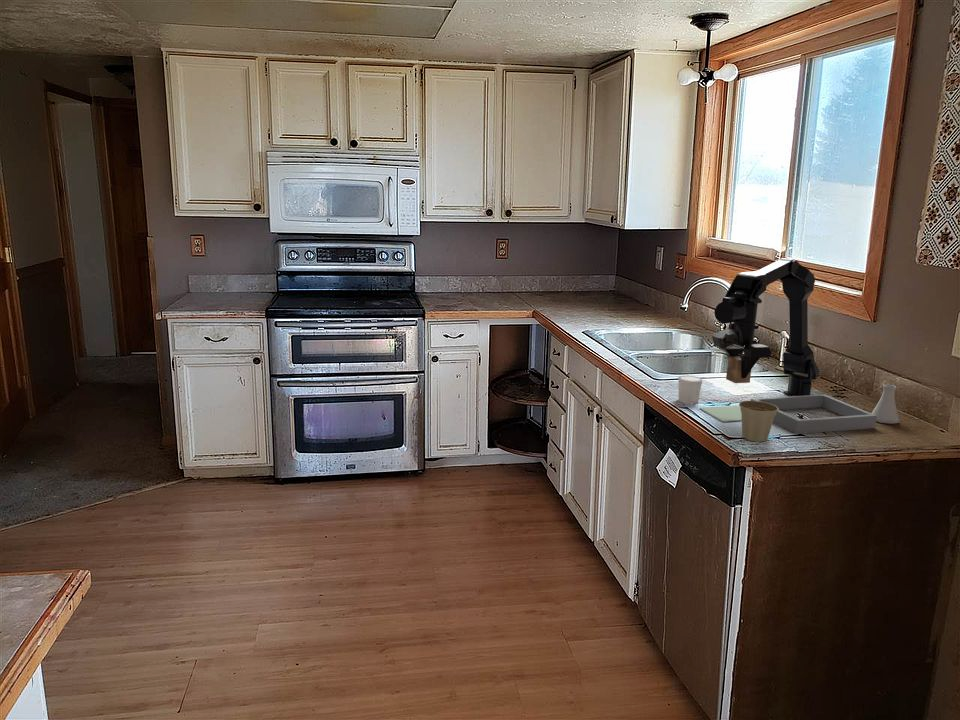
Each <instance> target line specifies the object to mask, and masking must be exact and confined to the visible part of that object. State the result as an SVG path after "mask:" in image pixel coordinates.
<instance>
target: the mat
mask: <svg viewBox="0 0 960 720" xmlns="http://www.w3.org/2000/svg"><path fill="white" fill-rule="evenodd" d="M699 410H700V411H702V412H704V413H706V414H708V415H709V416H711V417H713V418H715V419H717V420H718V421H720V422H722V423H730V422H729V421H735V422H742V415H741V410H740V406H739V405H725V406H723V405H722V406H708V407H699Z"/></svg>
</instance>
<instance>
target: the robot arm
mask: <svg viewBox="0 0 960 720" xmlns="http://www.w3.org/2000/svg"><path fill="white" fill-rule="evenodd" d="M776 281H780V283H781V285H782V292H783V293H784V295H785V297H786V298H787V300H788V304H789V305H788V307H789V308H788V309H789V312H788V313H789V317H788V318H789V319H788V320H789V347H788V348H787V350H785V351H784V352H783V354H782V365H783V374H784V375H788V377H789V378H788V383H787V385H788V386H787V390H783V392H782V393H783V394H785V395H787V396H804V395H812V394H811V391H812V380H817V378H819V374H820V370H819V367H818V365H817V363H816V361H815V354H814V351H813V349H812V348H811V347H810V345H809V344H808V342H809V341H808V335H809V332H808V331H809V330H808V326H809V325H808V323H809V321H808V312H809V311H808V300H809V299H808V298H809V297H810V296H811V294H812V293H813V291H814V288H815V287H814V286H815V283H816V277H815V275H814V273H812V271H810V269H808V268H806V267H805V266H803V265H802V264H800V263H799V262H798V260H795V259H794V258H785V257H782V258H781V257H780V258H778V259H777V260H776V261H774V262H772V263H770V264H768V265H766V266H764V267H762V268H760V269H758V270H756V271H754V270H753V271H744V272H739V273H738V274H736V275H735V277H734V279H733V280H732V282H731V284H730V286H729V288H728V290H727V291H726V294H725V295H724V297H722V301H721V302H719V303H718V304H717V305H716V307H715V308H714V312H713V313H714V317H715V319H716V320H717V322H719V323H720V324H728V328H725V329H722V330H720V331H717V332H714V333H712V334H711V338H712V343H713V346H714V347H718V348H719V349H720V350H722V351H723V352H724V353H725V354H726V356H727V358H728V356H739V357H740V358H741V360H742V365H741V377H742V378H746V377H747V375H748V374H749V372H750V371H751V372H752V369H753V368H754V366H755V365H756V364H757V362H758V361H759V360H760V358H761V359H763V358H765V359H767V358H772V353H773V352H772V351H773V349H772V348H771V347H770V346H768V345H765V344H762V343H761V344H759V343H758V340H757V339H755V331H756V330H758V329H759V326H760V325H758V324H756V321H757V313H758V307H759V305H758V304H761V303H763V300H762V299H761V298H760V296H761V295H762V294H763V293H764V292H766V291H767V286H769V285H771V284H773V283H775V282H776ZM757 343H758V344H757Z"/></svg>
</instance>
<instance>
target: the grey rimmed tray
mask: <svg viewBox="0 0 960 720" xmlns="http://www.w3.org/2000/svg"><path fill="white" fill-rule="evenodd" d="M750 401H761V402H766V403H770V404H773V405H775V406H777V407H778V408H779V410H778V411H777V412H776V415H775V416H774V419H773V423H774V424H776V425H778V426H780V427H782V428H784V429H786V430H788V431H790V432H792V433H794V434H796V435H798V434H800V435H801V434H813V433H814V434H815V433H826V432H841V431H852V430H866V429H867V430H868V429H875V428H876V423H877V421H876V418H877V416H876V415H874V414H872V412H868V411H866V410H864V409H861V408H858V407H856V406H855V405H852V404H849V403H847V402H844V401H842V400H839V399H836V398H835V397H832V396H829V395H827V394H825V393H824V394H822V393H821V394H811V395H804V396H789V395H787V396H773V397H756V398H755V397H754V398H750ZM814 408H823V409H825V410H828V411H829V412H832V413H835V414H837V415H839V416H830V417H827V416H825V417H815V418H813V417H812V418H797V417H796V416H793V415H790V414H789V413H786V412H784V411H783V410H800V409H814Z"/></svg>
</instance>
